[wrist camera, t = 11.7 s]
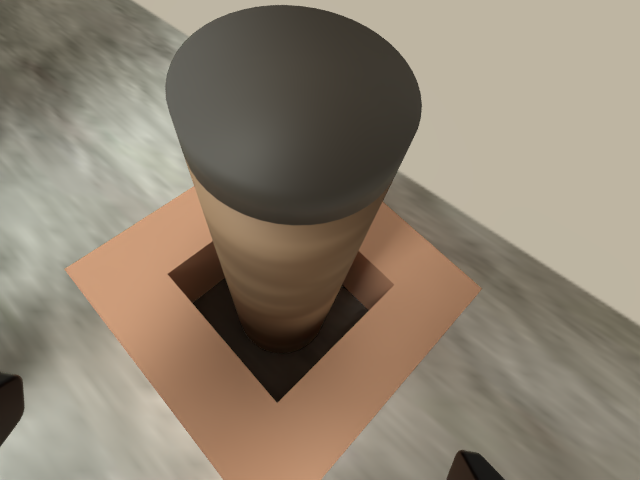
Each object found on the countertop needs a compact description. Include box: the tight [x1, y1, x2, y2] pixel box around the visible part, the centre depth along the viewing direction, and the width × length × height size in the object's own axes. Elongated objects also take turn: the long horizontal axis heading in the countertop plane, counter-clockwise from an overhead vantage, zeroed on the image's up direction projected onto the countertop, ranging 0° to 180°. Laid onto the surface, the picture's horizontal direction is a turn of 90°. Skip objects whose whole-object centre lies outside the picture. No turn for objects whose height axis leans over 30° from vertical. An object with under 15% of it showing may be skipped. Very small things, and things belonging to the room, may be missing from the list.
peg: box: [165, 5, 422, 353], centre depth 12 cm, size 4×4×13 cm
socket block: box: [65, 187, 482, 480], centre depth 16 cm, size 11×11×4 cm
